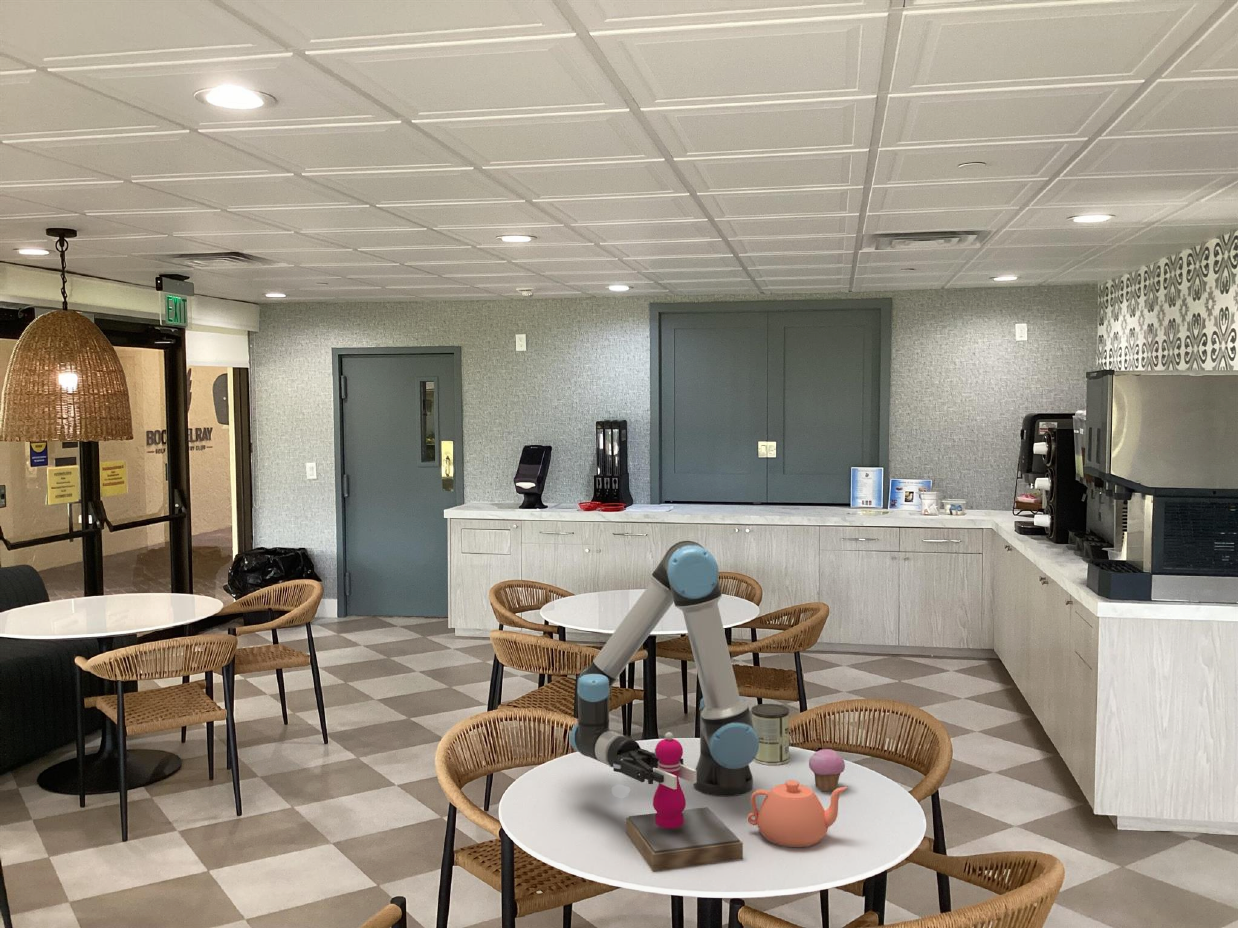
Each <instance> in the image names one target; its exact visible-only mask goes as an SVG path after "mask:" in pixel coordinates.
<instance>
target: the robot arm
mask: <svg viewBox="0 0 1238 928" xmlns="http://www.w3.org/2000/svg"><path fill="white" fill-rule="evenodd" d="M719 575H720V573H719V565H718V563H717V560H716V559H715V557H714V555H712V553H711V552H710V551H708V550H707V549H706V548H705V547H703V546H702V545H701V544H700V543H698V542H695V541H692V540H682V541H678V542H676V543H674V544H673V545H672V546H670V547H669V549H667V551H666V552H665V554H664V556H663V557H662V559H661V560H660V562H659V563H658V564H657V566H656V568H655V569H654V571H653V572H652V573H651V575H650V579H651V580H650V581H651V582H650V583H649V585H647V587H646V588H645V590H644V591H643V593H642V594H641V595H640V597H639V598H638V599H637V600H636V602H635V604H634V605H633V606H632V607H631V609H630V610H629V611H628V613H627V614H626V616H625V617H624V618H623V620H622V621H621V622H620V624H619V625H618V627H617V628H616V629H615V631H614V632H613V633H612V635H611V636H610V637H609V639H608V640H607V641H606V643H605V644H604V645H603V647H602V648H601V650H600V651H599V652H598V654H597V655H596V657H594V659H593V661H592V662H591V663H590V665H588V667H587V668H586V669H584V670H582V672H581V673H580V674H579V677H578V678H577V683H576V687H577V711H578V715H577V716H578V718H577V719H578V720H577V721H578V722H577V723H576V724H574V725H573V727H572V728H571V732H570V733H569V743H570V746H571V748H573V749H574V750H575V752H578V753H580V754H581V755H582V756H584V757H588V758H591V759H593V760H596V761H597V762H600V763H603V764H604V765H606V766H609V768H613V769H612V770H613V772H617V773H620V774H623V775H624V776H627V777H630V778H631V779H634V780H636V781H638V782H640V783H645V781H646V780H647V784H648V785H653V784H654V782H655V783H656V782H657V783H658V784H659V783H660V784H663V785H665V786H667V787H669V788H672V789H677V776H675V775H673V774H670V773H668V772H666V771H663V770H660V769H658V761H659V759H658V758H657V757H656V753H655V749H656V747H655V748H654V751H649V750H647V749H644V748H641V746H640V744H639V743H638V742H637V741H636V740H635V739H632V738H630V737H627V736H626V735H622V734H620V733H618V732H615V731H612V730H610V693H611V692H610V691H611V690H610V689H611V688H612V686H613V685H614V684H615V682H616V681H617V680H618V678H619V676H620V675H621V673H622V672H623V671H624V670H625V668H626V667H627V666H628V665H629V663H630V662H631V660H632V659H633V658H634V656H635V655H636V653H637V652H638V651H639V649H640V648H641V647H642V645H643V644H644V642H645V641H646V640H647V639H648V637H649V636H650V635H651V633H652V632H653V631H654V629H655V628H656V626H657V625H658V624H659V623H660V622H661V619H662V618H663V617H664V616H665V615H666V613H667V612H668V610H669V609H670V608H671V606H672V605H673V604H674V607H676V608H677V609H678V610H680V611H682V614H683V618H684V622H685V628H686V630H687V631H686V632H687V635H688V636H687V637H688V640H689V643H690V648H691V651H692V656H693V660H694V664H695V668H696V673H697V677H698V681H699V685H700V690H701V693H702V694H701V695H702V698H701V699H700V704H699V725H700V726H699V730H700V731H699V732H700V733H699V736H700V738H699V746H700V747H699V748H700V750H699V753H700V755H699V758H698V762H697V763H696V767H695V769H694V768H692V767H690V766H687V765H684V758H682V757H681V759H680V760H679V761H680V762H681V764H680V766H681V768H680V769H679V772H678V777H679V779H682V780H685V781H686V782H690V783H691V784H693V787H694V788H695V790H697V791H699V792H701V793H703V794H706V795H710V796H717V797H734V796H735V797H736V796H739V795H740V796H741V795H744V794H746V793H749V792H751V790H752V789H753V787H754V779H753V777H754V776H753V773H752V771H751V768H750V764H751V763H752V762H754V761H753V760H754V758H755V757H756V755H757V753H758V750H759V738H758V735H757V733H756V731H755V730H754V727H753V723H752V714H751V711H750V707H749V704H748V702H747V701H746V699H745V697H743V696H741V695H740V693H739V688H738V685H737V680H736V676H735V671H734V667H733V663H732V660H731V654H730V651H729V648H728V647H729V646H728V643H727V638H726V634H725V633H726V632H725V629H724V625H723V622H722V616H721V612H720V609H719V608H720V607H719V604H718V603H719V601H720V600H721V598H722V596H723V593H722V589H721V586H720V581H719Z"/></svg>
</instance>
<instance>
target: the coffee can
mask: <svg viewBox="0 0 1238 928" xmlns="http://www.w3.org/2000/svg"><path fill="white" fill-rule="evenodd" d="M750 710H751V711H750V712H751V719H752V723H753V727H754V730H755V731H756V733H757V735H758V738H759V750H758V753H757V755H756V757H755V758H754V760H753V761H752V762H754V763H757V764H761V765H764V766H780V765H785V764H787V763H788V762H789V761H790V725H789V724H790V720H789V717H790V714H789V713H790V708H789V707H787V706H785V705H783V704H777V703H776V704H775V703H761V704H757V705H756V704H755V705H754V706H752V707H751V709H750Z"/></svg>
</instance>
